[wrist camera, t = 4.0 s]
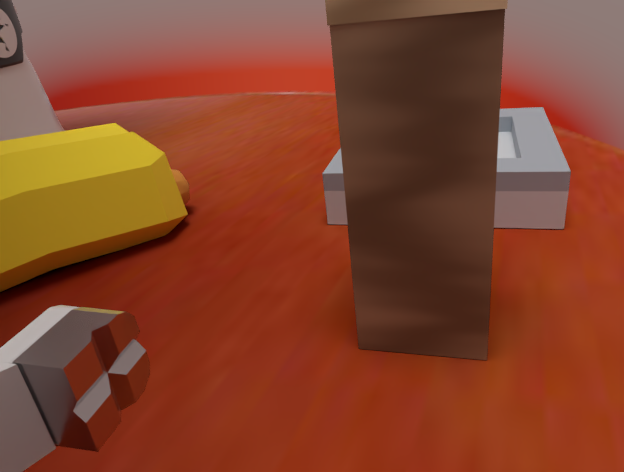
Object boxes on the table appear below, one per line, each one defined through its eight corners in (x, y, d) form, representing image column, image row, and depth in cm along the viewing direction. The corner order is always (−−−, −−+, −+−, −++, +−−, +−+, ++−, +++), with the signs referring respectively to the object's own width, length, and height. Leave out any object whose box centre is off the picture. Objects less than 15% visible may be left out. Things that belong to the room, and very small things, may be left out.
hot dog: (221, 228, 31) (172, 195, 36) (198, 115, 28) (148, 100, 33) (-158, 371, 22) (-143, 298, 28) (-252, 229, 19) (-214, 181, 25)
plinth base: (327, 224, 29) (322, 173, 28) (366, 154, 39) (363, 114, 38) (564, 229, 25) (570, 171, 24) (538, 150, 36) (542, 107, 34)
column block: (357, 349, 19) (324, -7, 14) (377, 282, 23) (357, -16, 18) (488, 361, 18) (509, -28, 12) (486, 288, 22) (501, -33, 16)
